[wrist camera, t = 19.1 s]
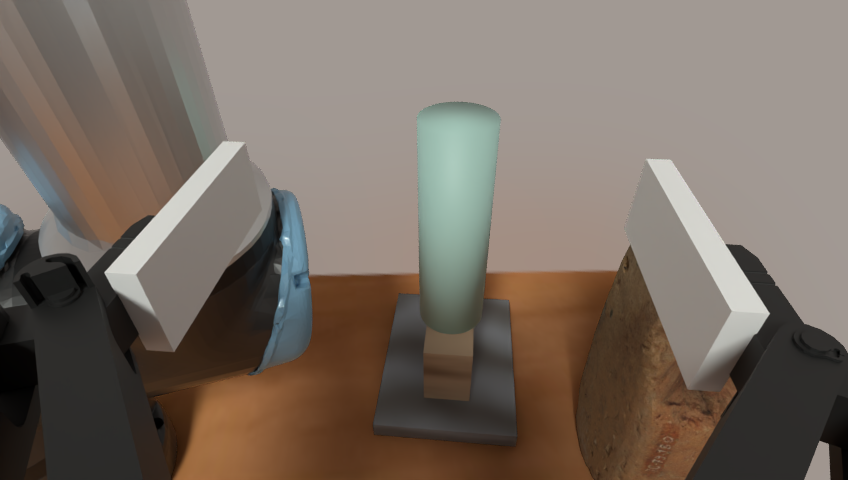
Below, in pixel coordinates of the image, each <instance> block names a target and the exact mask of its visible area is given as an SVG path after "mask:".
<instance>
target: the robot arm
mask: <svg viewBox="0 0 848 480" xmlns="http://www.w3.org/2000/svg"><path fill="white" fill-rule="evenodd" d="M0 139H1V140H2V141H3V143H4V144H5V146H6V147H7V148H8V150H9V151H10V153H11V154H12V156H13V157H14V158H15V160H16V161H17V163H18V164H19V165H20V167H21V168H22V169H23V171H24V172H25V174H26V175H27V177H28V178H29V180H30V181H31V182H32V184H33V185H34V187H35V188H36V190H37V191H38V192H39V194H40V195H41V197H42V198H43V199H44V201H45V202H46V204H47V205H48V207H49V210H48V212H47V214H46V216H45V217H44V220H43V222H42V225H41V228H40V229H38V230H30V231H29V230H25V229H24V224H23V221H22V219H21V217H19V215H17V214H13V213H12V212H11V211H10V210H9V209H8V208H7V207H6V206H4V205H2V204H0V480H171V476H172V473H173V470H174V466H175V462H176V457H177V437H176V432H175V429H174V426H173V424H172V422H171V420H170V419H169V417H168V415H167V413H166V412H165V410H164V408H163V407H162V405H161V404H160V403H159V402H158V401H157V400H156V399H155V398H154V397H155V396H159V395H163V394H167V393H171V392H175V391H179V390H183V389H187V388H191V387H195V386H200V385H204V384H208V383H212V382H217V381H221V380H225V379H230V378H234V377H238V376H243V375H256V374H259V373H261V372H263V370H264V369H266V368H270V367H273V366H276V365H280V364H283V363H286V362H290V361H293V360H295V359H297V358H298V357H300V356H301V355H302V354H303V353H304V352H305V350H306V349H307V347H308V345H309V343H310V340H311V334H312V296H311V286H310V281H309V278H308V275H309V269H308V253H307V246H306V238H305V232H304V226H303V221H302V216H301V212H300V208H299V204H298V201H297V199H296V197H295V195H294V194H293V193H292V192H290V191H287V190H278V189H275V188H273V189H270V185H269V183H268V181H267V179H266V177H265V176H264V174H263V172H262V171H261V170H260V169H259V168H258V167H257V166H256V165H255V164H254V163H253V162H251V161H250V160H249V156H248V152H247V148H246V144H245V142H228V139H227V136H226V133H225V129H224V126H223V122H222V119H221V116H220V112H219V109H218V106H217V102H216V99H215V95H214V92H213V89H212V85H211V83H210V79H209V75H208V72H207V69H206V65H205V62H204V58H203V55H202V52H201V48H200V45H199V42H198V38H197V35H196V31H195V28H194V25H193V21H192V18H191V15H190V11H189V8H188V4H187V2H186V0H0ZM624 230H625V232H626V234H627V237H628V240H629V242H630V245H631V247H632V250H633V252H634V255H635V257H636V260H637V262H638V265H639V268H640V270H641V273H642V275H643V278H644V280H645V283H646V285H647V288H648V290H649V293H650V295H651V298H652V300H653V303H654V305H655V308H656V310H657V313H658V316H659V318H660V321H661V323H662V326H663V328H664V331H665V333H666V336H667V338H668V341H669V343H670V346H671V348H672V351H673V353H674V356H675V358H676V361H677V364H678V366H679V369H680V371H681V374H682V376H683V379H684V381H685V384H686V386H687V389H688V390H702V391H715V392H720V391H721V390H722V388H723V387H724V385H725V383H726V382H727V380H728V379H729V377H731V379H732V381H733V383H734V385H735V387H736V390H737V392H736V393H735V395H734V396H733V398H732V399H731V401H730V402H729V404H728V405H727V407H726V408H725V410H724V411H723V413H722V414H721V416H720V417H721V418H720V420H719V422H718V424H717V425H716V427H715V429H714V430H713V432H712V434H711V435H710V437H709V439H708V441H707V442H706V444H705V446H704V447H703V449H702V451H701V453H700V454H699V456H698V458H697V459H696V461H695V463H694V465H693V466H692V468H691V470H690V471H689V473H688V475H687V477H686V478H685V480H804V478H805V476H806V473H807V471H808V468H809V466H810V463H811V461H812V458H813V456H814V453H815V450H816V448H817V445H818V443H819V441H822V442H825V443H828V444H829V456H830V476H831V480H848V353H847V351H846V349H845V348H844V346H843V345H842V344H840V342H838V341H837V340H836V339H835V338H834V337H832V336H831V335H829V334H827V333H826V332H824V331H822V330H820V329H818V328H815V327H812V326H810V325H806V324H804V323H803V322H802V320H801V319H800V317H799V316H798V315H797V313H796V312H795V310H794V309H793V307H792V306H791V305H790V303H789V302H788V300H787V299H786V297H785V296H784V295H783V293H782V292H781V290H780V289H779V287H778V286H775V282H774V280H773V279H772V278H771V276H770V275H768V274H767V271H766V269H765V268H764V266H763V265H762V263H761V262H760V261H759V259H758V258H757V257H756V256H755V255H753V254H752V253H751V252H749V251H748V250H747V249H745V248H744V247H743V246H741V245H728V244H725V243H724V242H723V240H722V239H721V237H720V235H719V234H718V232H717V231H716V229H715V228H714V226H713V225H712V223H711V221H710V220H709V218H708V217H707V215H706V214H705V212H704V211H703V209H702V208H701V206H700V204H699V203H698V201H697V200H696V198H695V197H694V195H693V193H692V192H691V190H690V189H689V187H688V186H687V184H686V183H685V181H684V179H683V178H682V176H681V175H680V173H679V172H678V170H677V169H676V167H675V165H674V164H673V162H672V161H671V160H660V159H646V161H645V164H644V167H643V170H642V173H641V176H640V180H639V183H638V186H637V189H636V192H635V196H634V199H633V202H632V205H631V208H630V211H629V214H628V217H627V221H626V224H625V227H624Z"/></svg>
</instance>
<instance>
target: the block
mask: <svg viewBox="0 0 848 480" xmlns="http://www.w3.org/2000/svg"><path fill="white" fill-rule="evenodd" d="M736 392H737V390H736V387H735V385H734V383H733V381H732V379H731V377H729V379H728V380H727V382H726V383H725V385H724V387H723V388H722V390H721V391H720V392H715V391H702V390H688V389H687V386H686V384H685V381H684V379H683V376H682V374H681V371H680V369H679V366H678V364H677V361H676V358H675V356H674V353H673V351H672V348H671V346H670V343H669V341H668V338H667V336H666V333H665V331H664V328H663V326H662V323H661V321H660V318H659V316H658V313H657V310H656V308H655V305H654V303H653V300H652V298H651V295H650V293H649V290H648V288H647V285H646V283H645V280H644V278H643V275H642V273H641V270H640V268H639V265H638V262H637V260H636V257H635V255H634V252H633V250H632V247H631V245H630V247H629V248H628V250H627V252H626V254H625V256H624V258H623V260H622V262H621V265H620V268H619V270H618V272H617V275H616V277H615V280H614V283H613V286H612V288H611V290H610V293H609V295H608V298H607V300H606V303H605V306H604V309H603V311H602V314H601V317H600V320H599V323H598V326H597V328H596V331H595V334H594V338H593V342H592V345H591V349H590V352H589V355H588V359H587V362H586V365H585V368H584V372H583V376H582V379H581V383H580V389H579V402H578V408H577V413H576V423H577V433H578V439H579V442H580V448H581V452H582V455H583V458H584V460H585V463H586V465H587V466H588V468H590V471H591V475H592V477H593V479H594V480H685V478H686V477H687V475H688V473H689V471H690V470H691V468H692V466H693V465H694V463H695V461H696V459H697V458H698V456H699V454H700V453H701V451H702V449H703V447H704V446H705V444H706V442H707V441H708V439H709V437H710V435H711V434H712V432H713V430H714V429H715V427H716V425H717V424H718V422H719V420H720V418H721V417H720V416H721V414H722V413H723V411H724V410H725V408H726V407H727V405H728V404H729V402H730V401H731V399H732V398H733V396H734V395H735V393H736Z"/></svg>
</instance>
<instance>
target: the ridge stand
mask: <svg viewBox="0 0 848 480" xmlns="http://www.w3.org/2000/svg"><path fill="white" fill-rule="evenodd" d="M373 429H374V435H386V436H398V437H409V438H421V439H433V440H444V441H456V442H468V443H479V444H491V445H503V446H514V447H515V446H516V441H517V422H516V406H515V390H514V374H513V358H512V342H511V326H510V310H509V300H497V299H483V310H482V317H481V320H480V322H479V323H478V324H477V325H476V326H475V327H474V328H473V329H471V330H469V331H467V332H464V333H460V334H444V333H440V332H437V331H435V330H433V329H431V328H430V327H428V326H427V325H426V324H425V323H424V321H423V320H422V318H421V315H420V295H417V294H401V293H399V295H398V301H397V306H396V311H395V316H394V321H393V326H392V331H391V336H390V341H389V346H388V351H387V356H386V361H385V366H384V371H383V376H382V381H381V386H380V391H379V396H378V401H377V407H376V412H375V417H374V422H373Z"/></svg>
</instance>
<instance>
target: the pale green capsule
mask: <svg viewBox="0 0 848 480" xmlns="http://www.w3.org/2000/svg"><path fill="white" fill-rule="evenodd" d="M500 120H501V119H500V116H499V114H498V113H497V112H496V111H494V110H492V109H491V108H488V107H486V106H483V105H479V104H474V103H467V102H446V103H439V104H435V105H432V106H429V107H427V108H425V109H423V110H422V111H420V112H419V114H418V116H417V145H418V146H417V150H418V216H419V285H420V315H421V318H422V320H423V321H424V323H425V324H426V325H427V326H428V327H430V328H431V329H433V330H435V331H437V332H440V333H444V334H460V333H464V332H467V331H469V330H471V329H473V328H474V327H475V326H476V325H477V324H478V323H479V322H480V320H481V317H482V310H483V299H484V289H485V278H486V268H487V257H488V247H489V236H490V226H491V215H492V204H493V194H494V184H495V173H496V163H497V151H498V142H499V131H500Z"/></svg>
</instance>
